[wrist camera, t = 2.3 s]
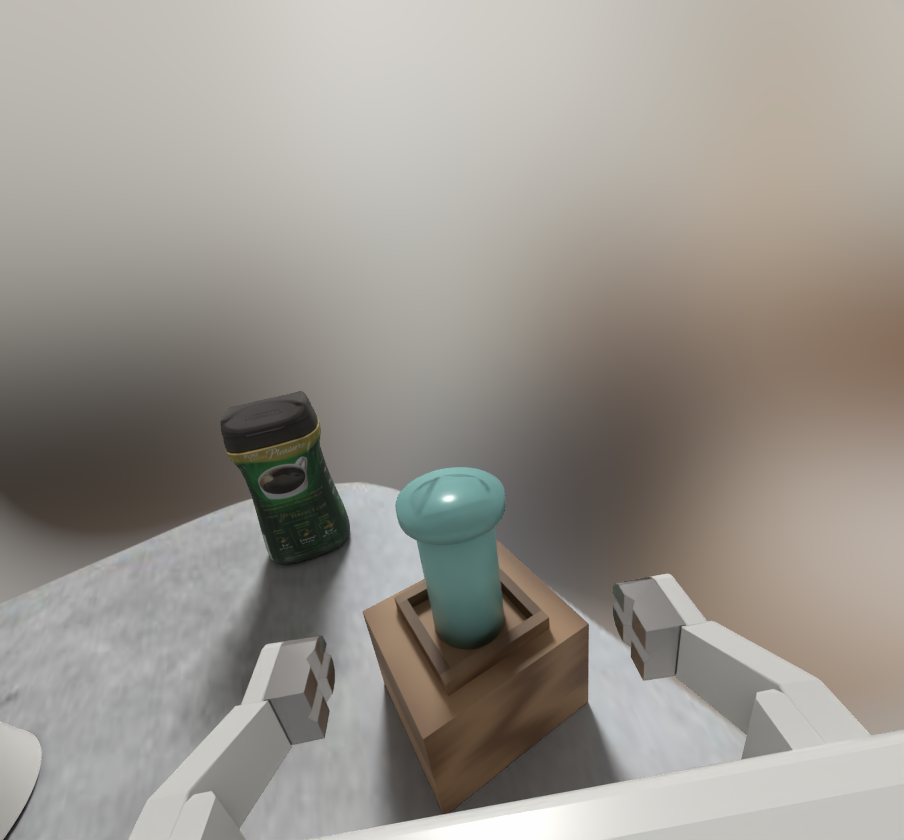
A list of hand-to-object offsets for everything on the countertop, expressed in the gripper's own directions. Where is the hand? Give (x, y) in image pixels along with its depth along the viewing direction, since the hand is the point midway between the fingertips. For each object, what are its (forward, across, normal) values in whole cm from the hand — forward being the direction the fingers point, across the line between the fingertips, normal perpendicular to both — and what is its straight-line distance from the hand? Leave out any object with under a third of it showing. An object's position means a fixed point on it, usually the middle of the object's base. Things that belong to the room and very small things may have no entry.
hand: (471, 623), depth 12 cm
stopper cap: (+12, 0, +14) cm, 19 cm away
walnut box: (+12, 0, +22) cm, 25 cm away
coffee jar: (+34, +18, +22) cm, 44 cm away
